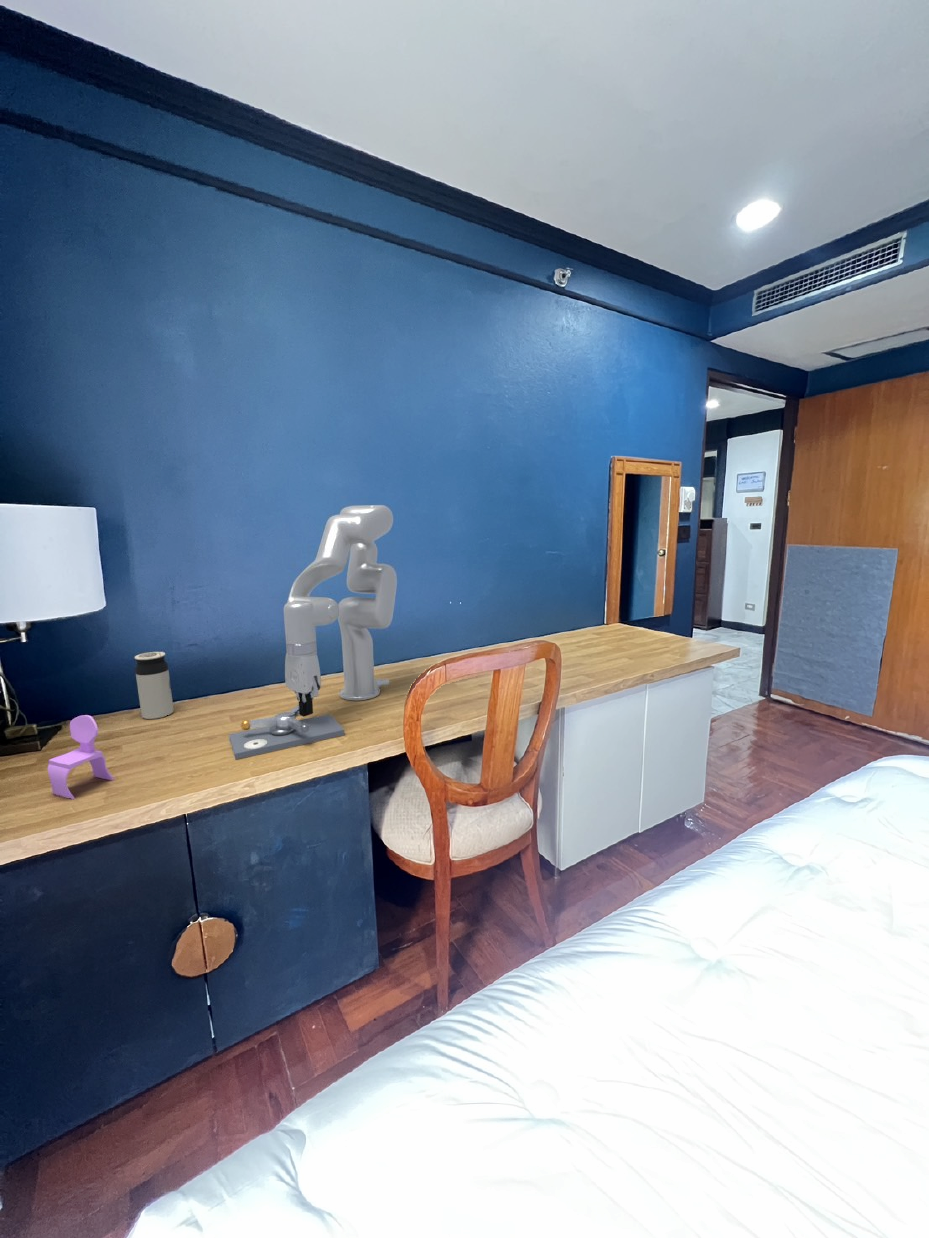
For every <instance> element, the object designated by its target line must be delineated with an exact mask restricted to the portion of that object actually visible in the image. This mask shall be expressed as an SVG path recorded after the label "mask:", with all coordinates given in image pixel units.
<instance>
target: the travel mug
mask: <svg viewBox="0 0 929 1238" xmlns="http://www.w3.org/2000/svg"><path fill="white" fill-rule="evenodd" d="M165 656H166V653H165V652H164V651H152V652H151V651H150V652H144V653H140V654H137V655H135V656H134V659H135V660H136V665H135V667H134V670H135V671H134V673H135V677H136V684H137V692H138V693H137V694H138V700H139V706H140V713H141V718H142V719H146V720H156V719H162V718H165V717H168V716H170V715H171V714H173V712H174V711H175V710H174V704H173V703H174V702H173V696H172V694H173V693H172V689H171V680H170V672H169V664H168V661H166V660H165ZM167 715H168V716H167Z"/></svg>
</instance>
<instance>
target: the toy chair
mask: <svg viewBox="0 0 929 1238" xmlns="http://www.w3.org/2000/svg"><path fill="white" fill-rule="evenodd" d="M69 730H70V731H69V732H70V735H71V736H70V737H71V738H72V739H73V740H74V741H76V742H77V743H79V745H80V747H78V748H76V749H74V750H72V751H69V752H66V753H64V754H61V755H59V756H55V757H53V758H50V759H48V764H47V772H48V773H47V774H48V777H49V780H50V785H51V789H52V794H53V795H55V794H56V796H59V795H60V796H59V797H63V798H66V799H69V798H71V799H70V800H75V799H76V798H75V796H74V795H73V794H72V792H71V791H70V789H69V787H68V785H67V784H68V783H67V780H68V776H69V774H70V772H71V771H72V770H73V769H74V768H76V767H78V766H80V765H82V764H84V763H86V762H88V763H90V765H91V769H92V775H93V777H95V778H101V779H105V780H107V781H108V780H109V781H111V782H112V781H113V782H114V781H115V778H114V777H113V776H112V775H111V773H110V772H109V769H108V767H107V764H106V757H105V755H103V751H101V750H96V749H95V739H96V738H97V737H98V734H99V728H98V725H97V722H96V721H95V719H94V717H93V716H91V715H88V714H85V715H83V714H82V715H79V716H77V717H74V718H72V720H71V721H70V723H69Z"/></svg>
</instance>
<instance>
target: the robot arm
mask: <svg viewBox="0 0 929 1238" xmlns="http://www.w3.org/2000/svg"><path fill="white" fill-rule="evenodd" d="M393 523H394V515H393V512H392V510H391V509H390V508H389V507H388V506H386V505H384V504H375V505H372V504H370V505H369V504H368V505H363V504H362V505H349V506H346V507H343V508H342V509H341V510H340V512H339V514H335V515H332V516H330V517H329V518H328V519H327V521H326V524H325V527H324V530H323V533H322V537H321V540H320V543H319V547H318V551H317V554H316V557H315V559H314V561H312V562H311V563H310V564H309V565H307V567H306V568H305V569H304V570H303V571H302V572H301V573H300V574H299V575H298V576H297V577H296V578H295V580H294V581H293V583H292V584H291V589H290V590H289V594H288V598H287V602H286V603H285V604H284V606H283V617H284V618H283V621H284V622H283V623H284V632H285V644H286V654H285V658H284V659H285V661H284V663H285V664H284V677H285V679H284V680H285V687H286V688H287V689H288V690H290V691H293V692H294V693H295V695H296V700H297V702H298V705H299V716H301V717H308V716H310V715H313V714H314V705H313V701H314V700H315V699H314V698H317V697H319V696H320V693H319V690H321V688H322V678H321V669H320V668H321V667H320V663H319V662H320V661H319V658H318V649H317V648H318V647H317V633H316V632H317V631H316V627H317V626H318V627H320V626H328V625H331V624H333V623H334V622H336V621H338V625H339V628H340V629H339V630H340V636H341V648H342V649H341V651H342V664H343V665H342V666H343V682H344V688H343V689H341V690H340V691H339V696H340V698H342V699H343V700H345V701H346V700H347V701H354V702H355V701H365V700H371V699H374V698H376V697H377V696H379V695H380V693H381V689H380V688H381V687H383V686H384V687H385V686H389V685H390V679H388V678H387V679H383V678H378V679H377V678H375V665H374V664H375V663H374V660H375V659H374V642H373V638H372V635H371V633H370V631H369V630H368V629H370V630H371V629H373V630H384V629H387V628H388V627H389V626H390V625H391V623H392V621H393V619H394V618H393V617H394V610H395V603H396V596H397V595H396V594H397V588H398V587H397V586H398V585H397V584H398V578H397V576H398V575H397V572H396V571H395V569H394V567H393V566H391V565H389V564H385V563H377V561H378V547H377V545H376V543H375V541H377V540H378V539H380V538H382V537H384V535H386V534H388V533H389V532H390V531H391V529H392V526H393ZM347 563H348V567H347ZM346 567H347V573H346V574H347V575H346V587H347V589H348V590H349V591H350V592H351V593H354V594H355V593H356V594H360V595H361V594H362V595H364V594H368V595H375V597H366V596H364V597H363V596H350V597H345V598H342V599H341V600H340V601H339V603H338V602H337V601H336V600H335V599H333V598H329V597H320V596H310V595H311V593H312V591H313V590H314V589H315V588H316V587H317V586H318V585H319V584H321V583H322V582H324V581H326V580H328V579H330V578H333V577H335V576H337V575H339V574H342V573H343V572H344V571H345V570H346Z"/></svg>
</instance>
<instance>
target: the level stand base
mask: <svg viewBox="0 0 929 1238" xmlns="http://www.w3.org/2000/svg"><path fill="white" fill-rule="evenodd" d="M298 720H299V721H301V722H304V723H306V724H307V725H308V726H309V730H308V731H307V732H300V731H298V730H295V731H293V732H291V733H289V734H285V735H273V734H270V730H269V729H270V727H271V726H266V727H259V728H252V729H249V730H243V731H240V732H234V733H233V732H232V733H229V734H228V737H229V739H228V740H229V743H230V746H231V750H232V753H233V755H234V756H233V757H234V759H235V760H240V759H245V758H250V757H254V756H258V755H259V756H260V755H263V754H264V755H265V754H268V753H273V752H276V751H281V750H285V749H290V748H294V747H298V746H302V745H303V746H304V745H308V744H312V743H316V742H319V741H321V742H322V741H325V740H329V739H333V738H339V737H342V736H345V729H344V727H342V725H341V724H340V722H338V721H337V720H336V719H335V717H334V716H333V715H332V714H331V713H328V714H324V715H318V716H314V717H313V716H312V717H308V718H303V719H298Z"/></svg>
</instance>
